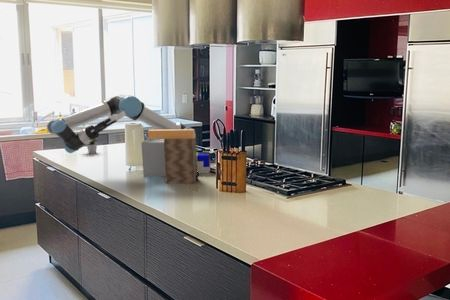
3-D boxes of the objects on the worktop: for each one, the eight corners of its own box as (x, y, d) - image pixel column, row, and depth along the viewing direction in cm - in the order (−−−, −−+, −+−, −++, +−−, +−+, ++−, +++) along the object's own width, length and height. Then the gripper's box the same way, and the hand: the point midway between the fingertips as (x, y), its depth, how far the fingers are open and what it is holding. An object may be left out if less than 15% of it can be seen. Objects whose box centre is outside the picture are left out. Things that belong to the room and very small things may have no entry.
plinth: (143, 175, 267) (141, 142, 263) (148, 172, 275) (146, 139, 272) (171, 175, 264) (169, 142, 261) (175, 172, 273) (173, 139, 270)
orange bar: (148, 139, 249) (147, 130, 248) (150, 137, 253) (150, 129, 252) (193, 138, 246) (192, 130, 245) (194, 137, 250) (194, 129, 249)
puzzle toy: (209, 172, 270) (208, 155, 268) (191, 173, 270) (191, 155, 268) (210, 168, 280) (209, 151, 278) (193, 169, 280) (192, 152, 278)
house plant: (98, 149, 350) (97, 127, 347) (107, 152, 340) (105, 129, 337) (80, 152, 342) (78, 130, 338) (88, 155, 331) (86, 131, 328)
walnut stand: (166, 182, 250) (163, 139, 245) (170, 178, 258) (168, 136, 254) (194, 183, 248) (192, 139, 243) (197, 178, 256) (195, 136, 252)
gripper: (101, 136, 269) (131, 117, 265) (83, 144, 245) (115, 123, 241) (94, 125, 269) (124, 106, 264) (75, 131, 244) (107, 111, 240)
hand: (120, 114), depth 252 cm, fingers open, 13 cm apart
